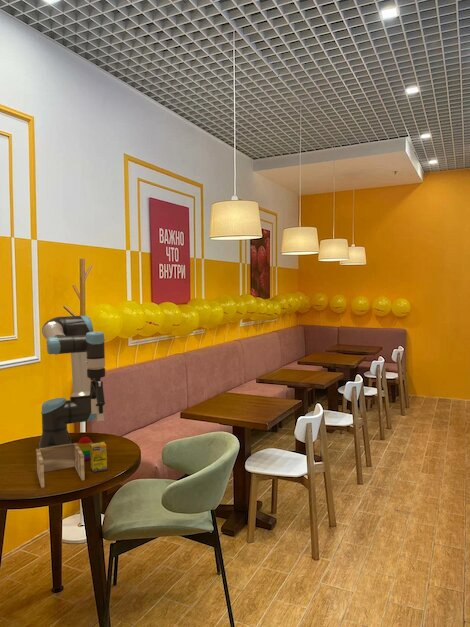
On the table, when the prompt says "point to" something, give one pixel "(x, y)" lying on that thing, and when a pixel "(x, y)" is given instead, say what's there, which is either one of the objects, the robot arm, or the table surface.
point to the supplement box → (98, 456)
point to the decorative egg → (85, 447)
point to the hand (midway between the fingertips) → (97, 417)
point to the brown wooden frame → (59, 460)
